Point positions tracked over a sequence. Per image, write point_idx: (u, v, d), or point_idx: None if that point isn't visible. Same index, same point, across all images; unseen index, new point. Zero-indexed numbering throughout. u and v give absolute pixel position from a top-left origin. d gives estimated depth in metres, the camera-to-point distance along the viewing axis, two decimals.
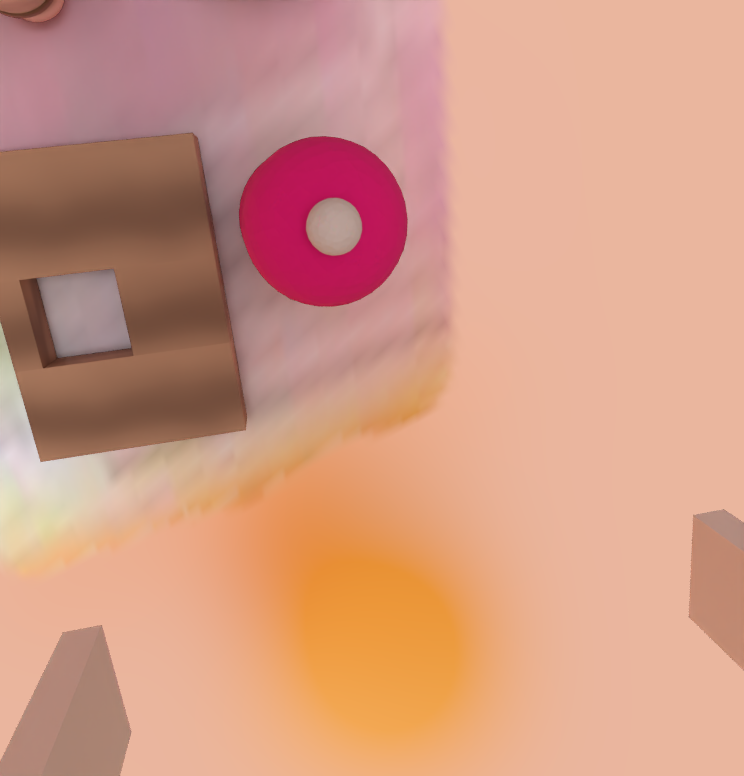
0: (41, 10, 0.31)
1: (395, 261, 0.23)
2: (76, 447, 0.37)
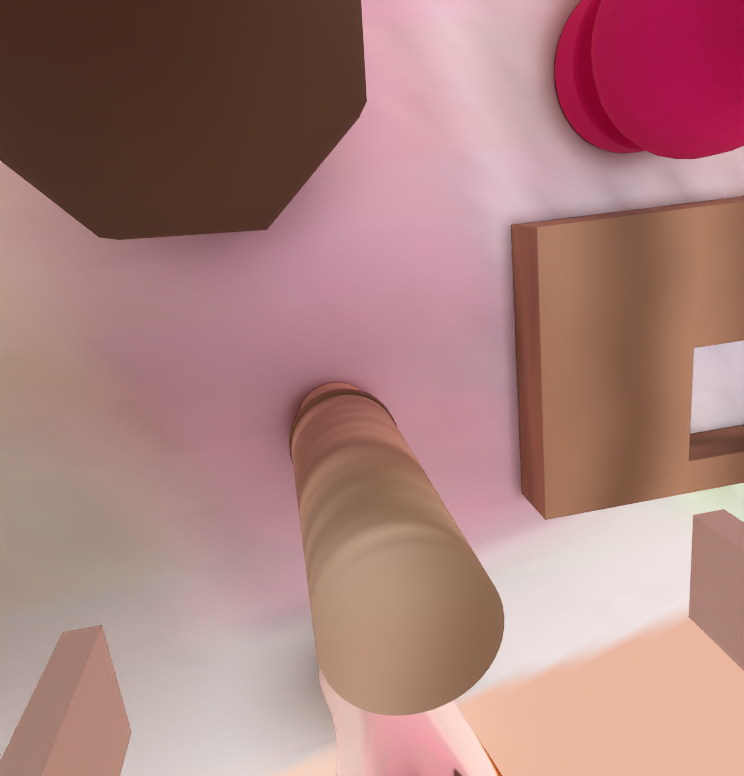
0: (389, 412, 0.24)
1: None
2: None
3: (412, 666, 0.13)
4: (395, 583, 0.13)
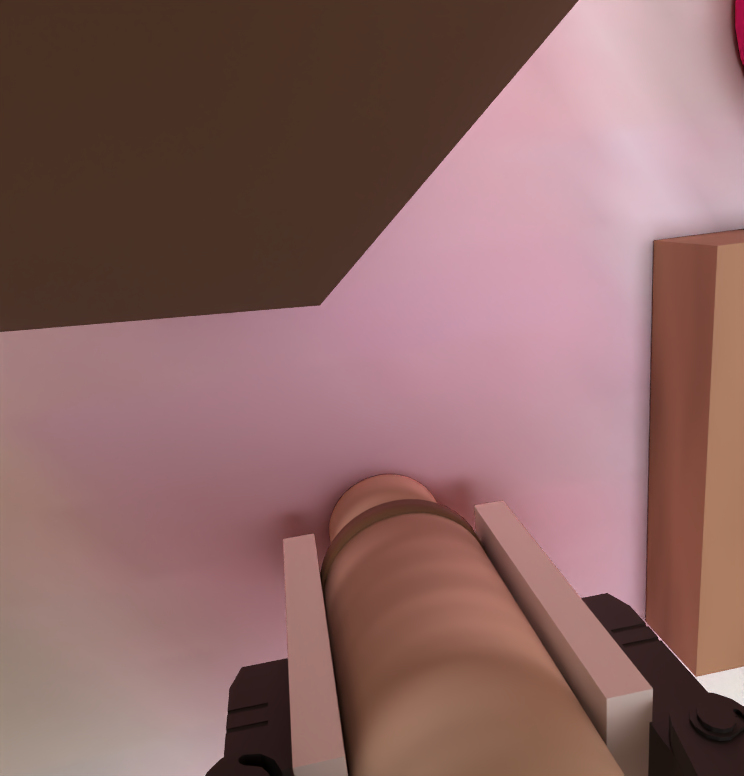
0: None
1: None
2: None
3: None
4: None
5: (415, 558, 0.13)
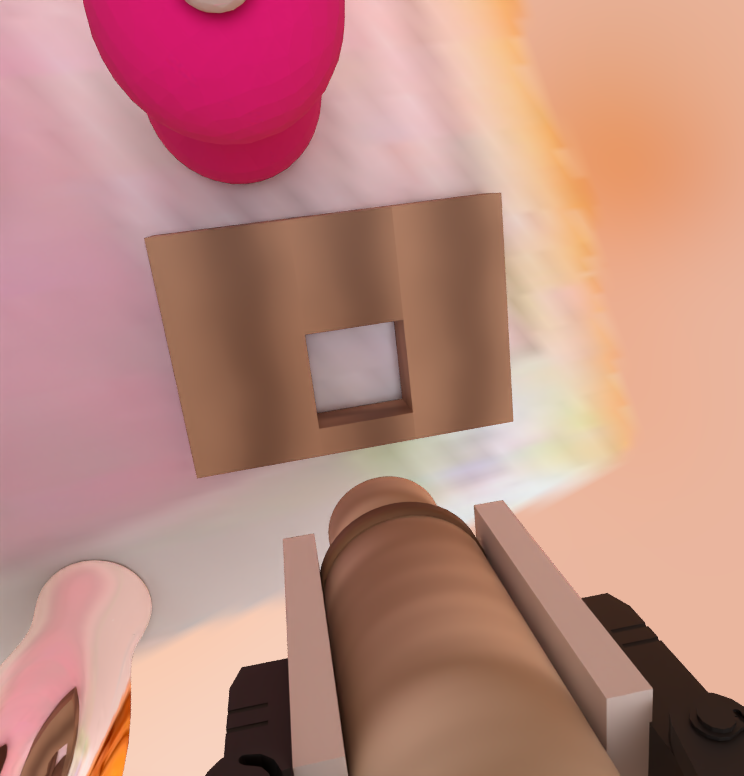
0: (475, 537, 0.15)
1: None
2: (501, 385, 0.34)
3: None
4: None
5: (414, 561, 0.12)
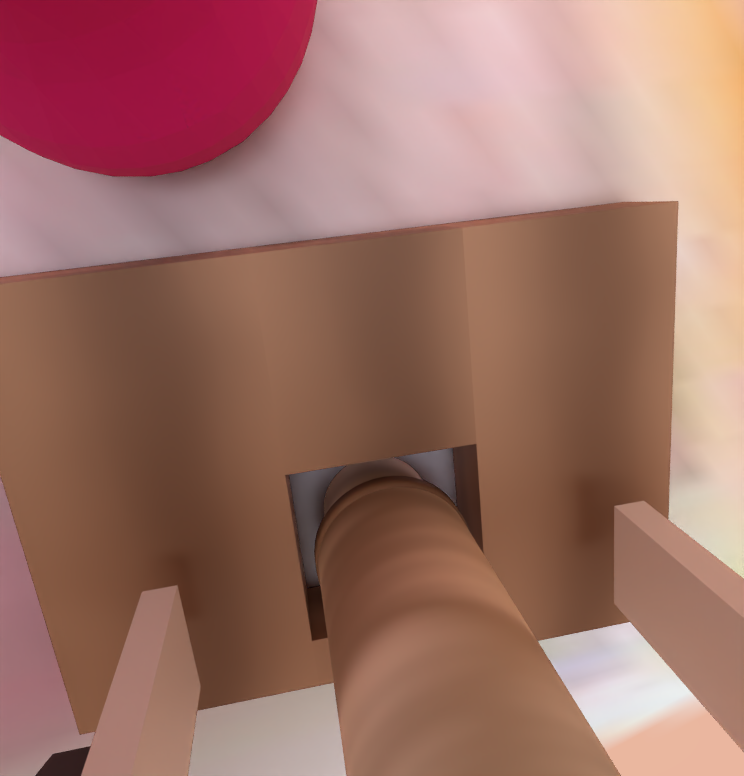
0: (457, 508, 0.17)
1: None
2: None
3: None
4: None
5: (399, 525, 0.14)
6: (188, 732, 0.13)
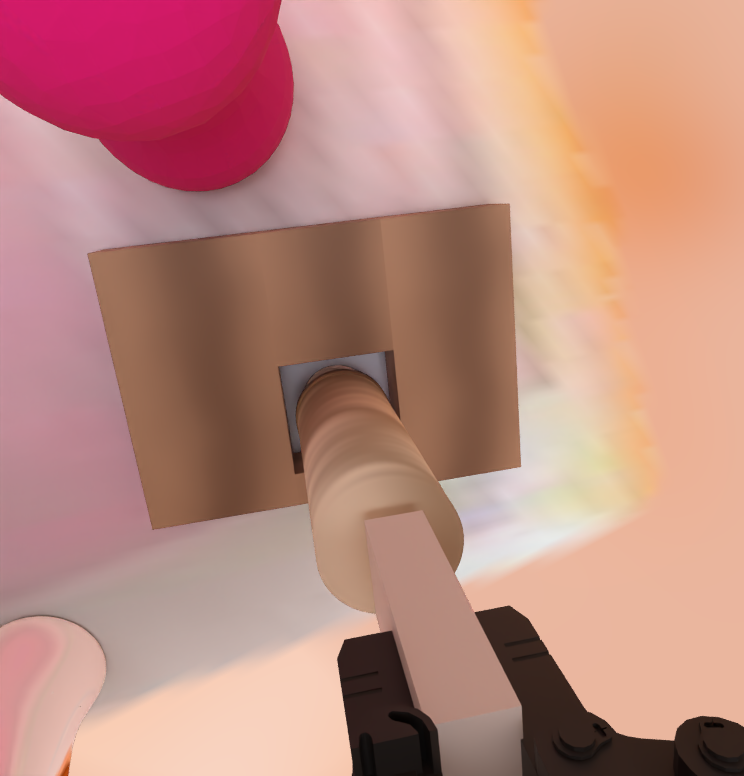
0: (382, 390, 0.27)
1: None
2: (507, 425, 0.29)
3: None
4: (377, 505, 0.16)
5: (341, 386, 0.25)
6: None
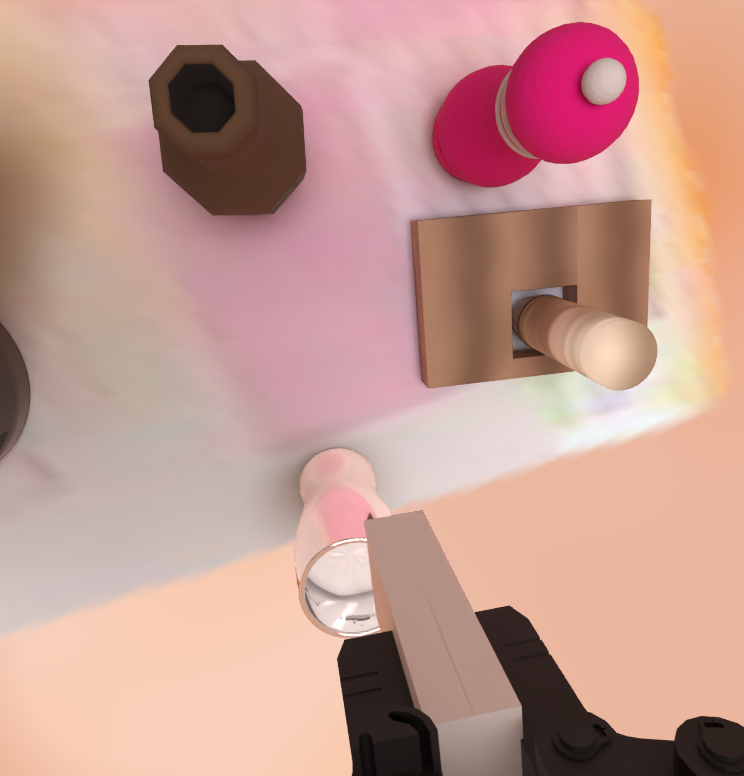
0: None
1: None
2: None
3: (622, 369, 0.36)
4: (620, 333, 0.35)
5: (556, 300, 0.43)
6: None
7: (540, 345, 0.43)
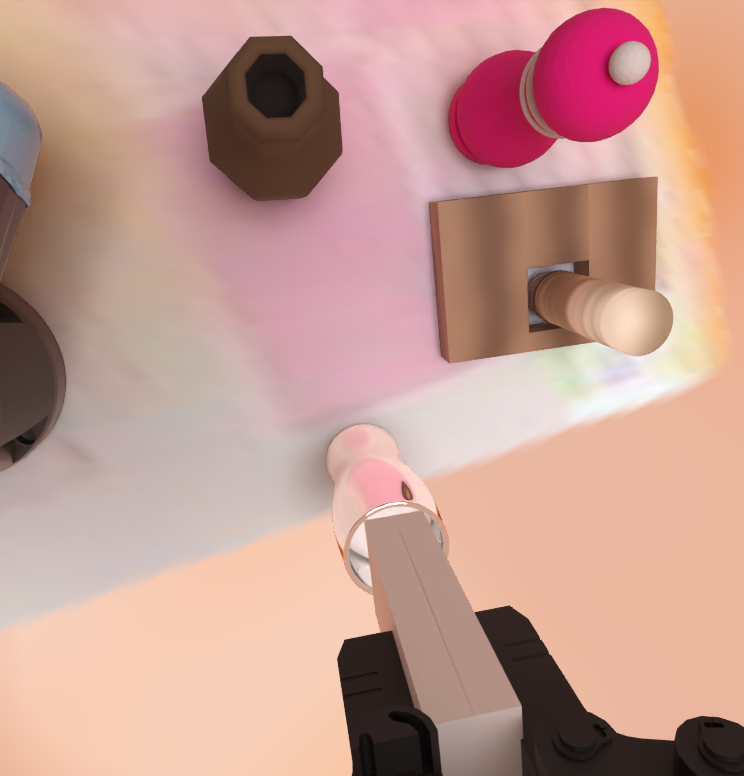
0: None
1: (636, 18, 0.30)
2: None
3: (640, 335, 0.38)
4: (638, 301, 0.37)
5: (571, 274, 0.46)
6: None
7: (557, 318, 0.45)
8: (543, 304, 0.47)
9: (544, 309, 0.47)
